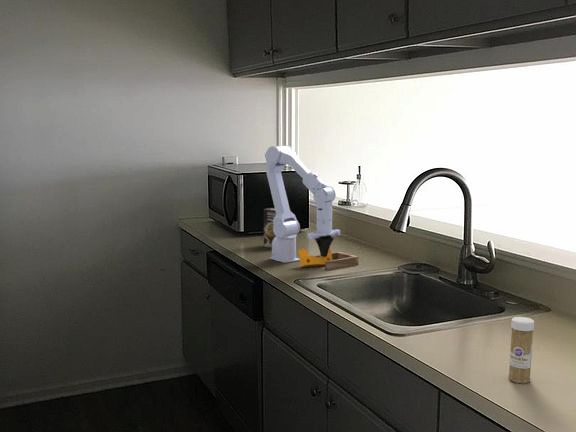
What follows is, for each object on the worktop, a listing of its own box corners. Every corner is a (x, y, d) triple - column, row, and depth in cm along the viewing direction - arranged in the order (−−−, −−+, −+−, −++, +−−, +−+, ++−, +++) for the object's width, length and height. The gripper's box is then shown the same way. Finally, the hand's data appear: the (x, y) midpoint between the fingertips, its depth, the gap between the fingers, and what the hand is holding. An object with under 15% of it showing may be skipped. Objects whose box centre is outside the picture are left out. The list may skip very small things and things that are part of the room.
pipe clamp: (305, 265, 245) (302, 247, 247) (300, 267, 249) (298, 250, 251) (334, 262, 250) (332, 245, 251) (330, 264, 254) (327, 247, 255)
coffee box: (263, 246, 287) (262, 209, 285) (271, 244, 293) (271, 207, 290) (280, 249, 282) (280, 210, 280) (289, 246, 288) (289, 209, 285)
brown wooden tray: (307, 264, 253) (307, 256, 253) (338, 259, 263) (338, 251, 262) (327, 270, 244) (327, 262, 244) (358, 264, 254) (358, 256, 253)
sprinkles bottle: (507, 382, 143) (511, 321, 141) (508, 374, 147) (511, 315, 145) (530, 385, 141) (534, 323, 139) (531, 377, 145) (534, 317, 143)
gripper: (316, 223, 240) (316, 260, 242) (346, 219, 249) (345, 255, 251) (303, 220, 246) (303, 257, 248) (333, 217, 254) (332, 252, 257)
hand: (323, 256), depth 250 cm, fingers closed
